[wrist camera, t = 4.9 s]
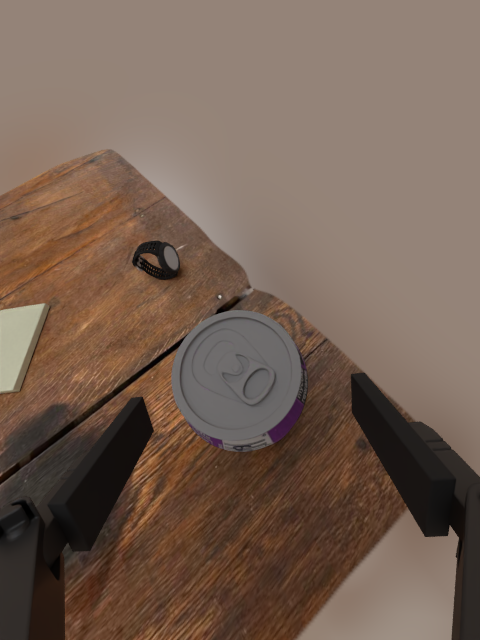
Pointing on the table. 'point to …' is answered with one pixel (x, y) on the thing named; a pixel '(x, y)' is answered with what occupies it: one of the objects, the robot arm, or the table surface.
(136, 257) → the black strap with disc
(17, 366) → the mat
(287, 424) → the beverage can
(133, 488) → the table surface
